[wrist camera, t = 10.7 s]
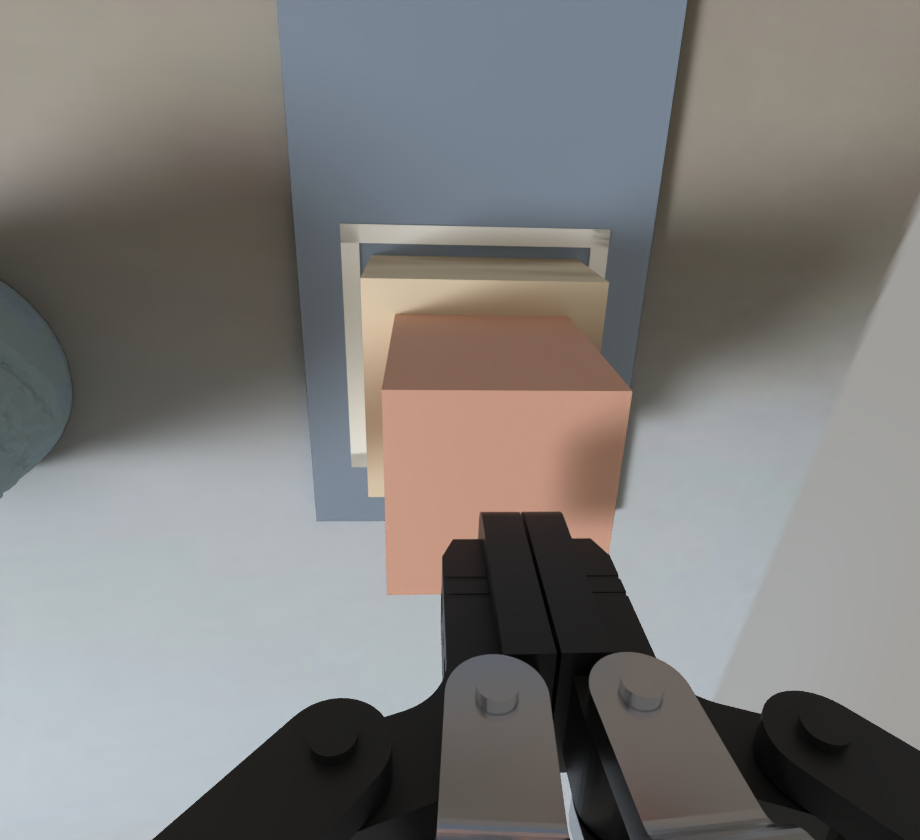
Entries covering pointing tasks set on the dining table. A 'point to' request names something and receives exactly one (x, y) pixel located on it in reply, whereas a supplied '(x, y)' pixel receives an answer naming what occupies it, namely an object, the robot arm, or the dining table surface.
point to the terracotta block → (494, 433)
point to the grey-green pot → (29, 388)
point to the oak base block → (464, 310)
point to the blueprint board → (464, 167)
